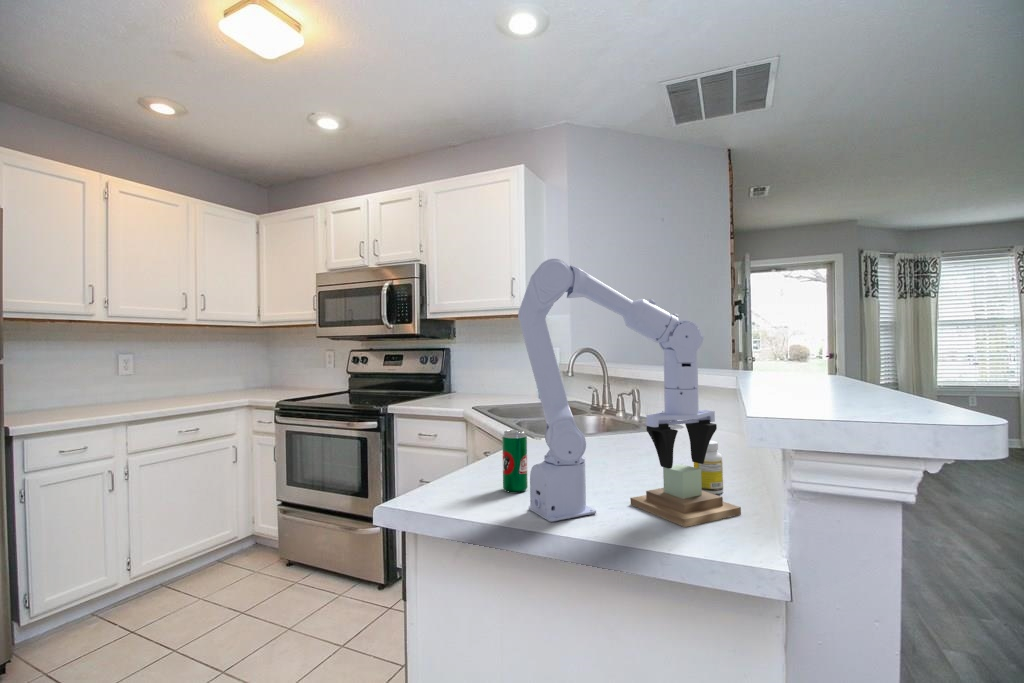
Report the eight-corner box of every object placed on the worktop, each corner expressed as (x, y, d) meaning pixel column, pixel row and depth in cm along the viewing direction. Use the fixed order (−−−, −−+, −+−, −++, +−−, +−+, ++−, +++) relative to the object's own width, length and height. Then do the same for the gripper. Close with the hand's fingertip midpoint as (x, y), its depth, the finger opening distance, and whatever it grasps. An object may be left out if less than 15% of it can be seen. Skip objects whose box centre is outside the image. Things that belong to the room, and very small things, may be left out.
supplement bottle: (698, 485, 98) (696, 438, 98) (726, 489, 95) (724, 441, 95) (691, 492, 94) (690, 442, 94) (720, 496, 91) (719, 445, 91)
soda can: (525, 494, 94) (524, 433, 94) (500, 493, 95) (499, 433, 95) (529, 487, 99) (528, 429, 99) (505, 486, 100) (505, 429, 100)
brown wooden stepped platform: (684, 527, 75) (684, 510, 75) (630, 504, 86) (630, 489, 86) (740, 514, 80) (740, 498, 80) (682, 494, 92) (682, 480, 92)
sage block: (682, 498, 81) (682, 472, 81) (663, 492, 85) (663, 466, 85) (701, 495, 83) (701, 469, 83) (682, 488, 87) (681, 464, 87)
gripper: (693, 385, 91) (694, 456, 90) (634, 388, 84) (635, 464, 84) (723, 387, 84) (725, 463, 84) (662, 390, 78) (664, 473, 78)
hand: (682, 464), depth 84 cm, fingers open, 7 cm apart
